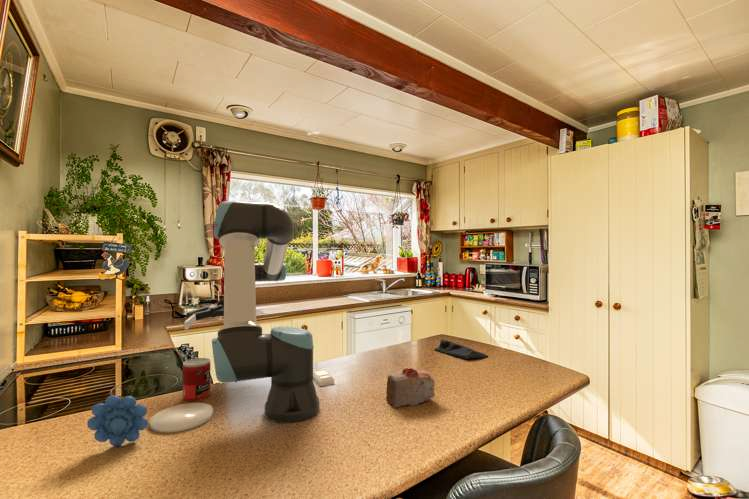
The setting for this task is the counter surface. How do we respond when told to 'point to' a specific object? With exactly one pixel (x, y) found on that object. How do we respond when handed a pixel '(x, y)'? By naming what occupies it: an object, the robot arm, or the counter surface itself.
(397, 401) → the food item
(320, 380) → the soap bar
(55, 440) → the counter surface
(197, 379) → the canned food
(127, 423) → the grapes
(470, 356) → the dark slate chunk
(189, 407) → the plate
